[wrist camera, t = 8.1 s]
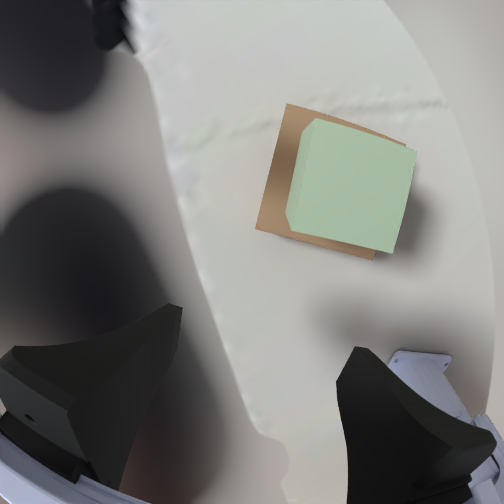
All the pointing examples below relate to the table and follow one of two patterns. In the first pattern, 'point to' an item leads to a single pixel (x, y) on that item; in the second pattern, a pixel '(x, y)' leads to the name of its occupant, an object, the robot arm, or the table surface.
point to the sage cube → (349, 186)
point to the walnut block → (281, 178)
